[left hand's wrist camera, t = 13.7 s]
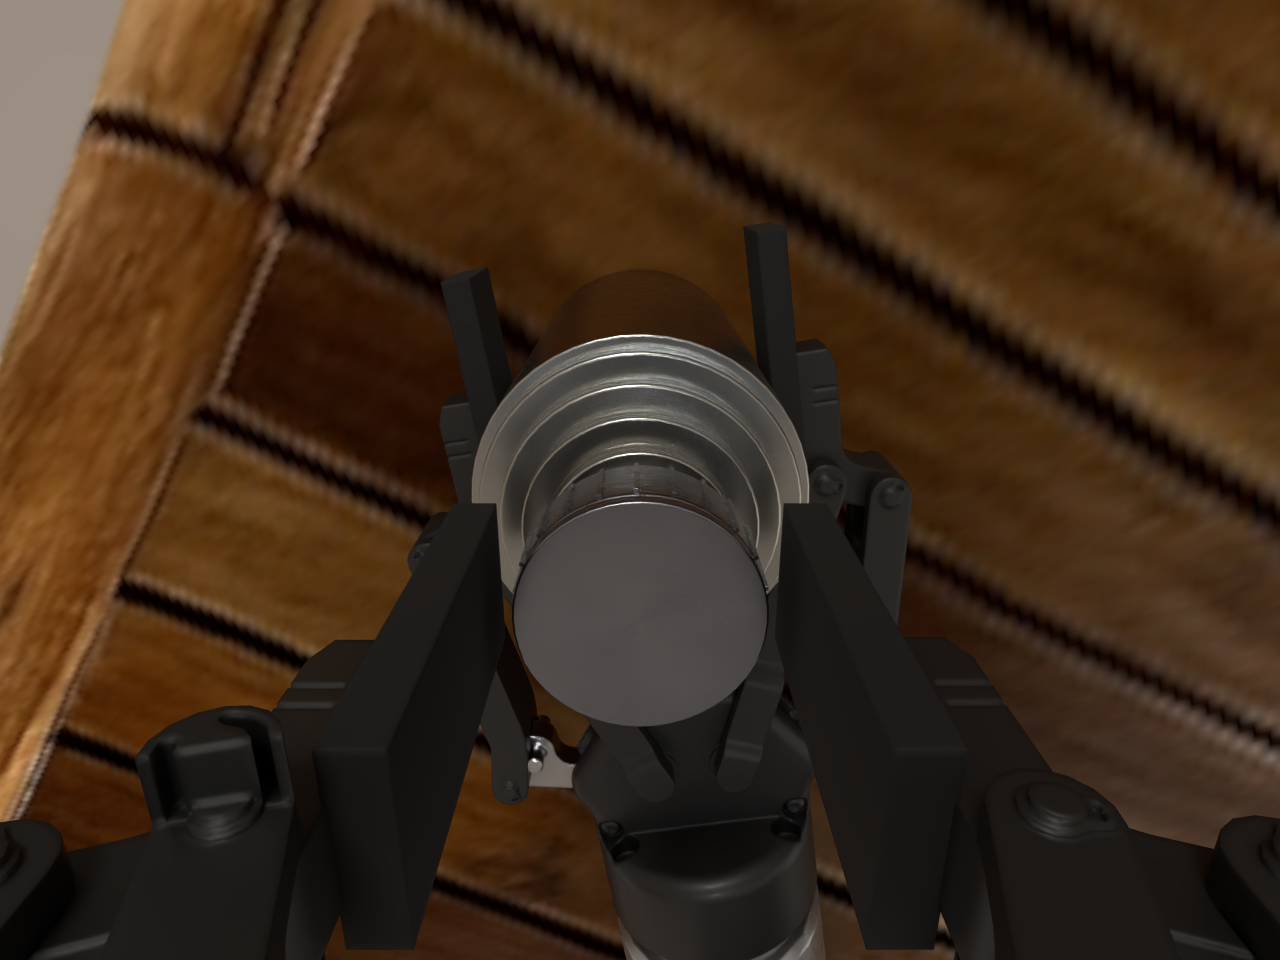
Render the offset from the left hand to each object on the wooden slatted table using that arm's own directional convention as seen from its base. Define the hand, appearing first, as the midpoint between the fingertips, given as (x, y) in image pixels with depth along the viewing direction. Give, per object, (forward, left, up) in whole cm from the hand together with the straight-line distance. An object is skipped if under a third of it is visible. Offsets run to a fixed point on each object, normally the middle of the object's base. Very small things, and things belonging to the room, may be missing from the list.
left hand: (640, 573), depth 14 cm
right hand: (+3, -4, -10) cm, 11 cm away
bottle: (0, 0, -16) cm, 16 cm away
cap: (0, 0, +1) cm, 1 cm away
